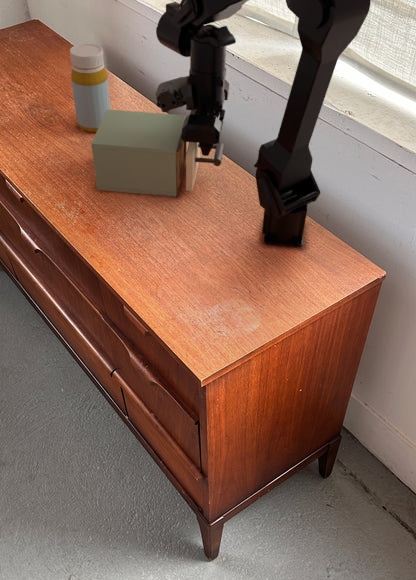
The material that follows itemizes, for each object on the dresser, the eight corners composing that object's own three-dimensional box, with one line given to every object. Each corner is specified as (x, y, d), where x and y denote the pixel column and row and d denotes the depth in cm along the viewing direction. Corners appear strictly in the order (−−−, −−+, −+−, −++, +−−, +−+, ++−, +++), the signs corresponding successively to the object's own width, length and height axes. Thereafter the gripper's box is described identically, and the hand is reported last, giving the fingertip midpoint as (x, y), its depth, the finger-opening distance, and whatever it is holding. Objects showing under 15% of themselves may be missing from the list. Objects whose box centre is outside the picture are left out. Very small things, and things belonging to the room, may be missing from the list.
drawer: (224, 160, 120) (225, 124, 115) (218, 194, 113) (220, 156, 107) (130, 153, 121) (128, 117, 116) (118, 185, 114) (115, 148, 108)
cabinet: (185, 160, 122) (185, 115, 115) (176, 196, 113) (175, 150, 107) (111, 154, 123) (106, 109, 116) (96, 190, 114) (91, 143, 107)
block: (183, 162, 118) (183, 139, 114) (180, 175, 115) (180, 152, 111) (160, 160, 118) (159, 137, 114) (156, 173, 115) (155, 150, 111)
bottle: (105, 135, 127) (97, 59, 116) (72, 131, 128) (61, 55, 117) (116, 119, 132) (109, 44, 120) (84, 115, 133) (75, 40, 121)
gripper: (167, 40, 108) (169, 126, 120) (148, 88, 96) (152, 178, 108) (231, 44, 108) (227, 130, 120) (220, 94, 96) (217, 184, 107)
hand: (205, 154), depth 114 cm, fingers closed
